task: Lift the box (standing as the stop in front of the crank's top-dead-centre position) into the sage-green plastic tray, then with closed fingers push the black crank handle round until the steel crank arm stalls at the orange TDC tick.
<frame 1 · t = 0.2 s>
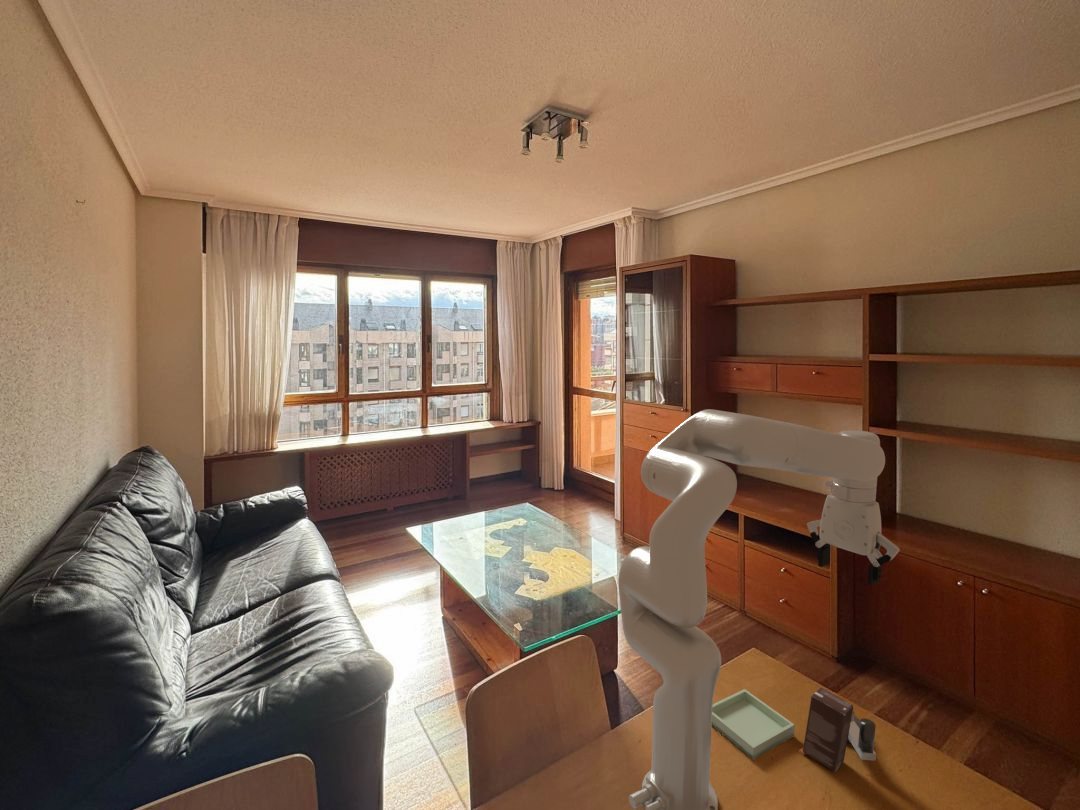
hand: (847, 573, 106), 30 cm above the table, fingers open, 9 cm apart
crank: (853, 719, 100), point 5 cm above the table, hinge at 55.0°
tray: (748, 727, 105), on the table
box: (822, 757, 98), on the table, touching crank base
crank base: (841, 729, 105), on the table
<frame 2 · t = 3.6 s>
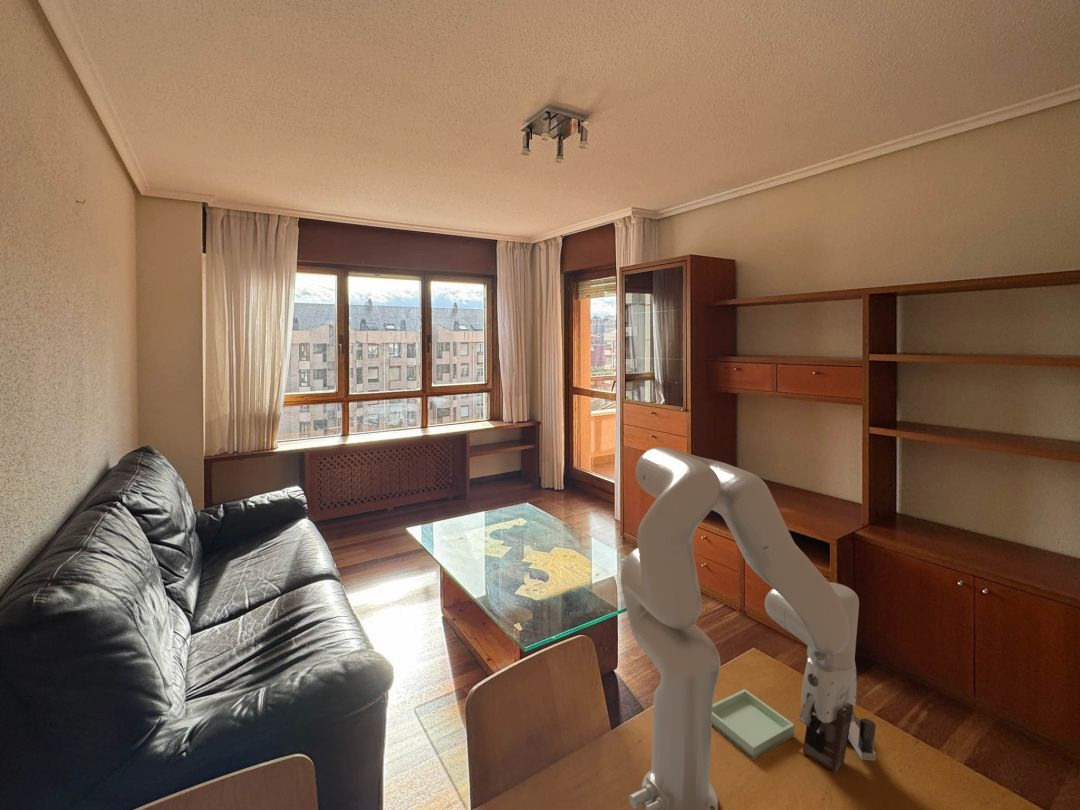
hand: (823, 741, 97), 3 cm above the table, fingers closed on box, 4 cm apart
box: (822, 757, 98), on the table, touching crank base, gripper
everything else where it was.
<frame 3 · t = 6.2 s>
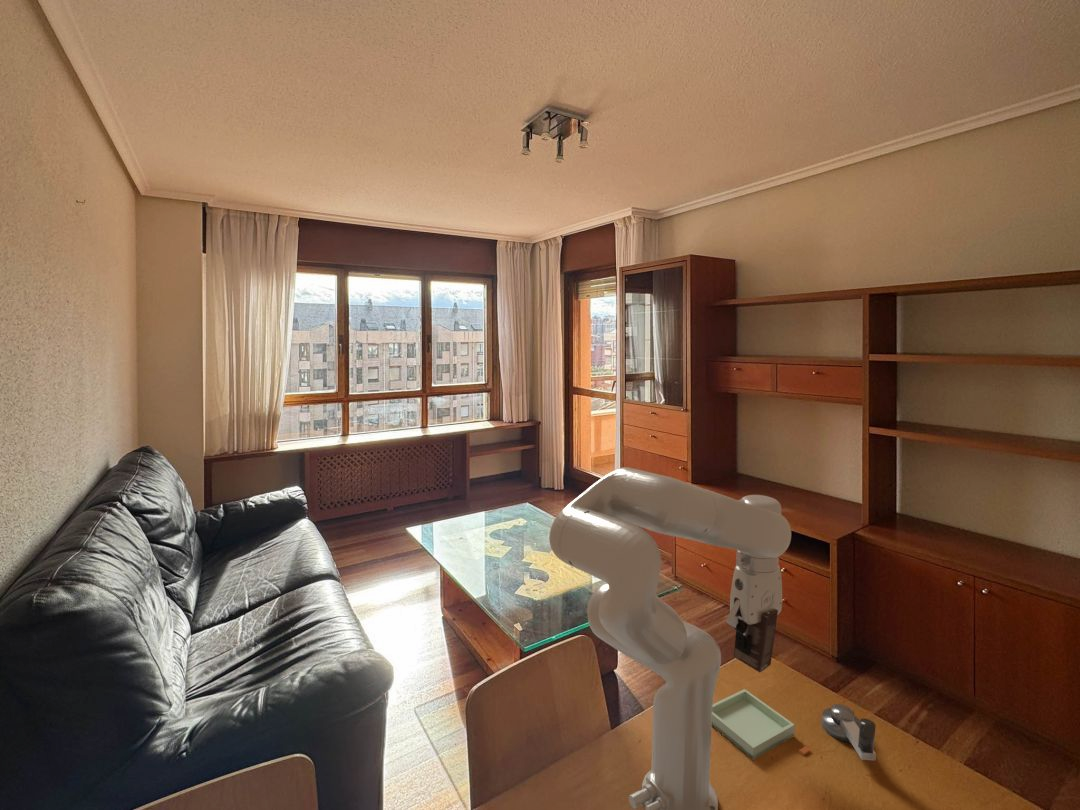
hand: (752, 646, 103), 18 cm above the table, fingers closed on box, 4 cm apart
box: (751, 661, 104), point 14 cm above the table, touching gripper
everything else where it was.
when the fingers open (5 cm above the table, at t = 9.1 s): box drops 1 cm, resting on tray.
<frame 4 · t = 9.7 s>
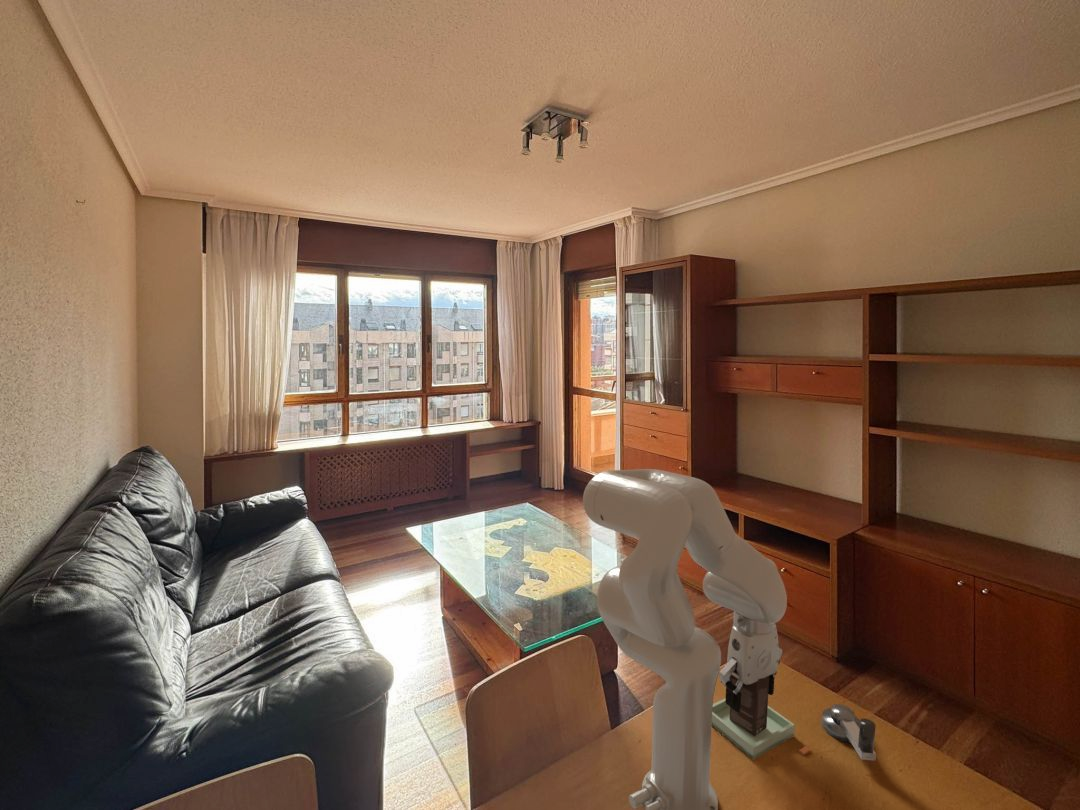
hand: (749, 698, 105), 6 cm above the table, fingers open, 9 cm apart
box: (747, 724, 105), point 1 cm above the table, touching tray
everything else where it was.
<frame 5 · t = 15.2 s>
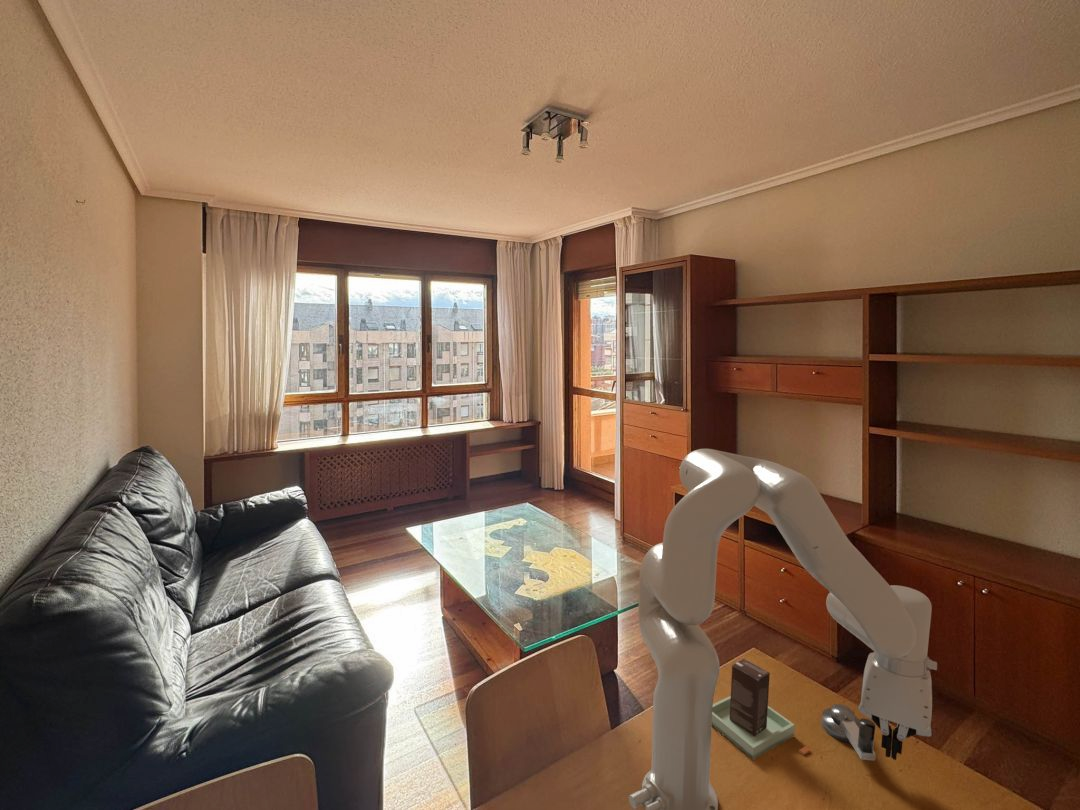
hand: (890, 753, 93), 4 cm above the table, fingers closed
crank: (853, 719, 100), point 5 cm above the table, hinge at 54.6°, touching gripper
everything else where it was.
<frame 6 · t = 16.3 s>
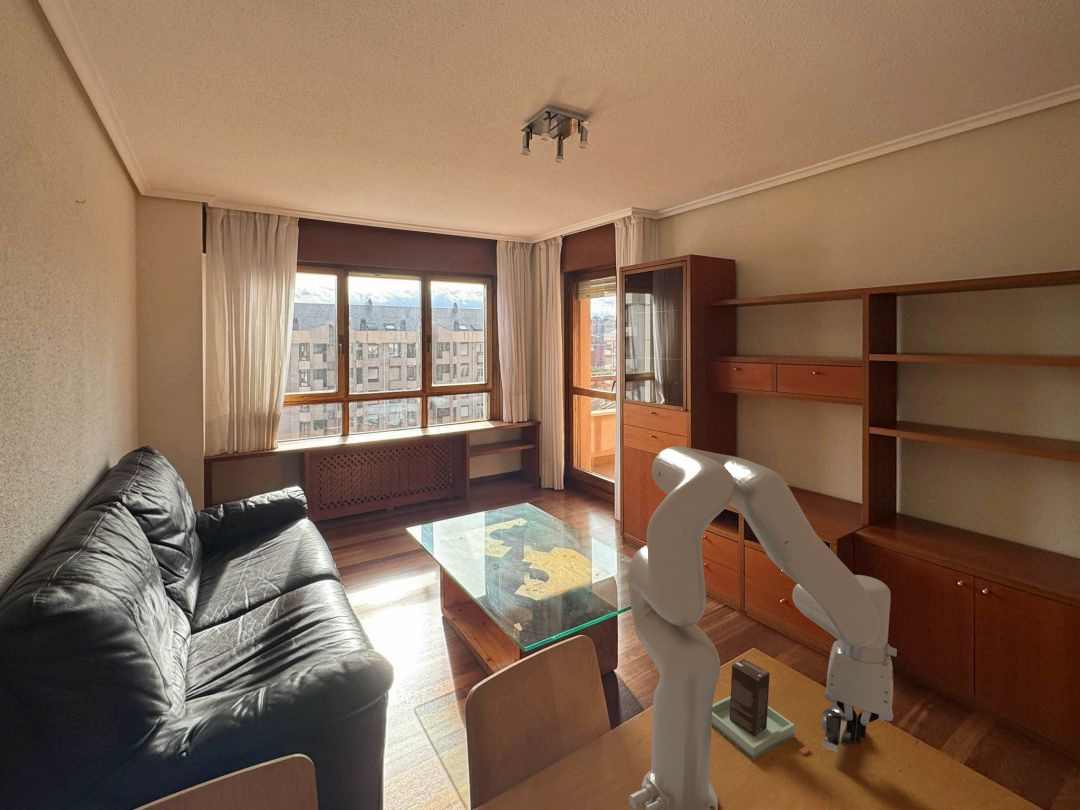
hand: (855, 737, 96), 5 cm above the table, fingers closed
crank: (838, 715, 101), point 5 cm above the table, hinge at 19.9°, touching gripper
everything else where it was.
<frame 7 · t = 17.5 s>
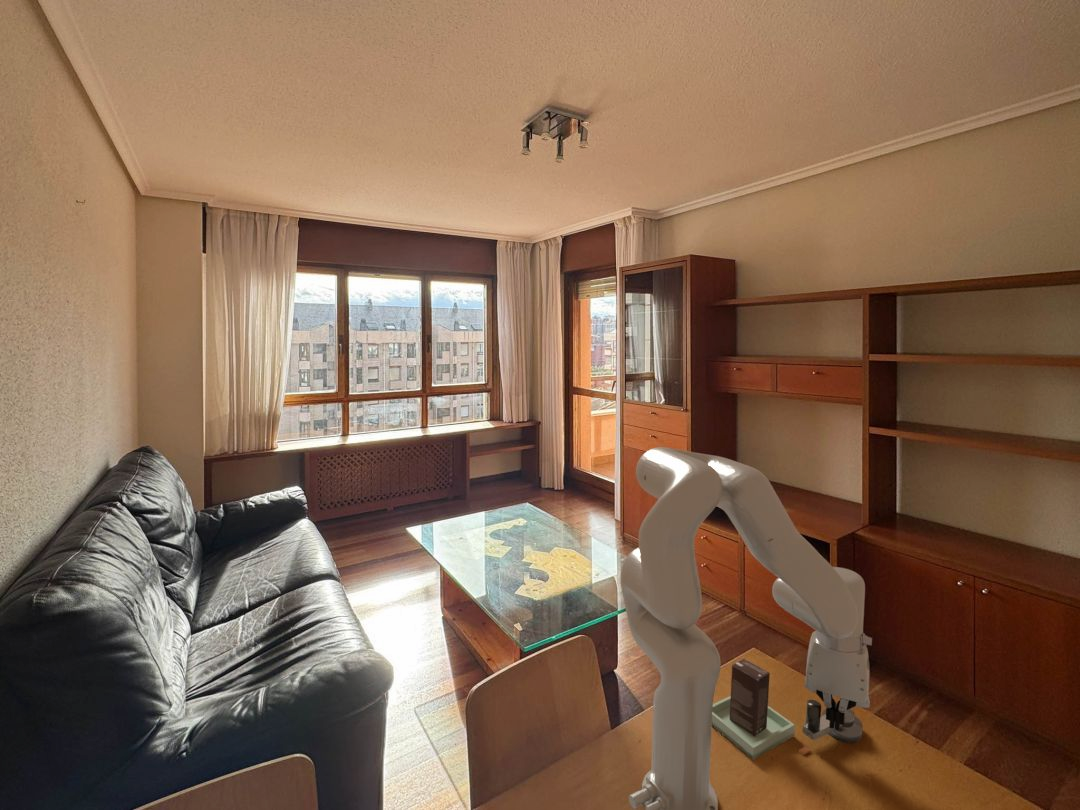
hand: (834, 724, 99), 5 cm above the table, fingers closed
crank: (829, 711, 102), point 5 cm above the table, hinge at -3.1°, touching gripper
everything else where it was.
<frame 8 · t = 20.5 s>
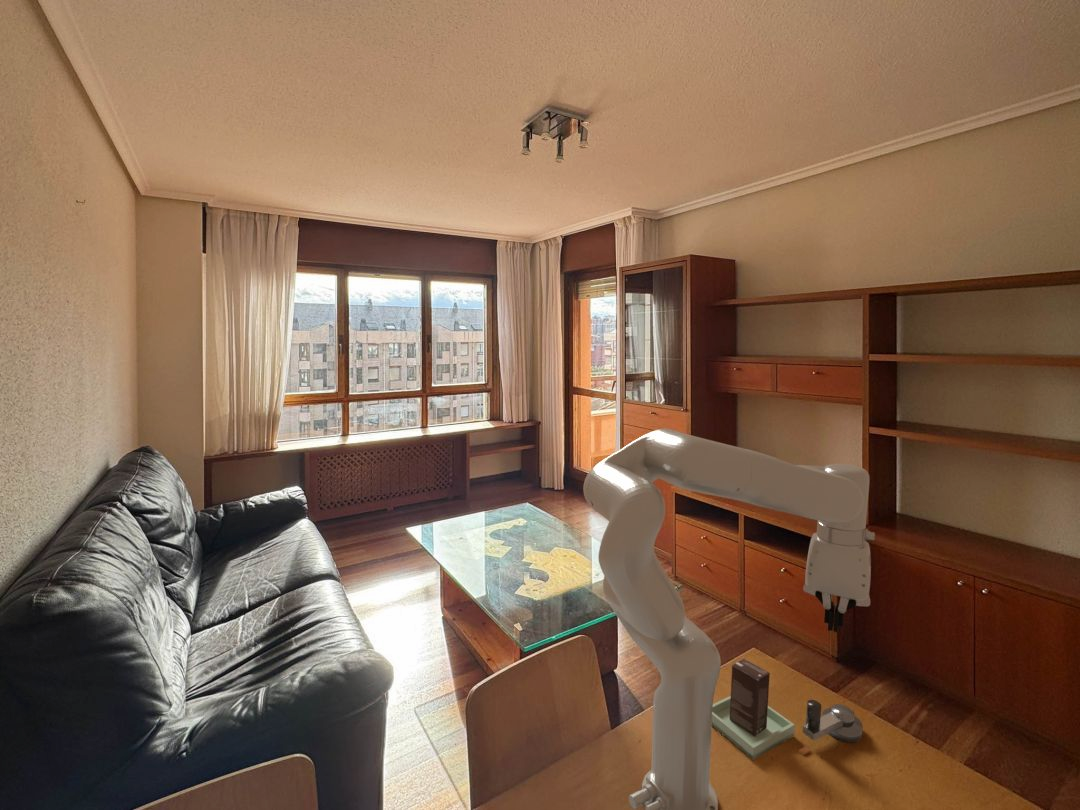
hand: (833, 627, 96), 25 cm above the table, fingers closed
crank: (829, 711, 102), point 5 cm above the table, hinge at -2.9°
everything else where it was.
at the end: crank at -3° (first picture: +55°); box inside the target area on the tray (0.1 cm from its centre), point 0.6 cm above the tray's base; box tilted 0° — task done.
